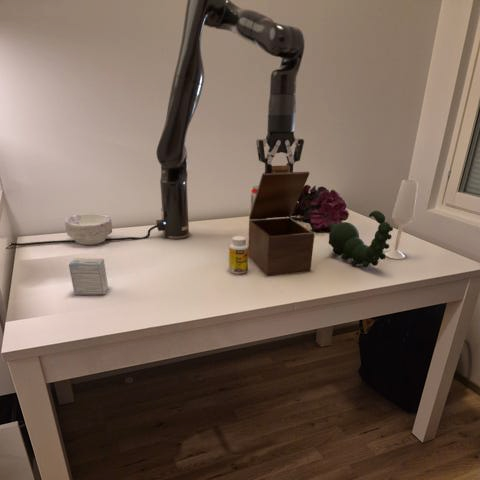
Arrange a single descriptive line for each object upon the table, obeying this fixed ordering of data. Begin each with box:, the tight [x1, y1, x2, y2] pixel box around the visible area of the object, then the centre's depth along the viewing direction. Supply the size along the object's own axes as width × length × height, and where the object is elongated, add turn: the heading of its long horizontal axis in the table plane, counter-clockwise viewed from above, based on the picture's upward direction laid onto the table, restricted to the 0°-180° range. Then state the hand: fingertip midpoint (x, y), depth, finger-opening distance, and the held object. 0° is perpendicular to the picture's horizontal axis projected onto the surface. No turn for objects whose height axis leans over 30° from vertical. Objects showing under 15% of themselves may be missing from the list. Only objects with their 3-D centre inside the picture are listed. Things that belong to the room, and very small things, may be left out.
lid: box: [248, 164, 310, 221], centre depth 126 cm, size 18×14×6 cm
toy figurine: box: [327, 210, 394, 268], centre depth 131 cm, size 9×19×25 cm
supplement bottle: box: [228, 235, 249, 275], centre depth 123 cm, size 6×6×10 cm
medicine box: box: [68, 257, 109, 296], centre depth 109 cm, size 8×4×9 cm, turn 92°
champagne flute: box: [384, 179, 419, 260], centre depth 135 cm, size 7×7×24 cm
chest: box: [247, 217, 315, 277], centre depth 129 cm, size 18×14×12 cm
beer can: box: [250, 185, 261, 220], centre depth 160 cm, size 6×6×16 cm
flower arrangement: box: [288, 184, 350, 233], centre depth 170 cm, size 31×20×15 cm, turn 22°
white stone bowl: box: [64, 213, 113, 246], centre depth 146 cm, size 15×15×8 cm
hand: (278, 177), depth 123 cm, fingers closed on lid, 5 cm apart
